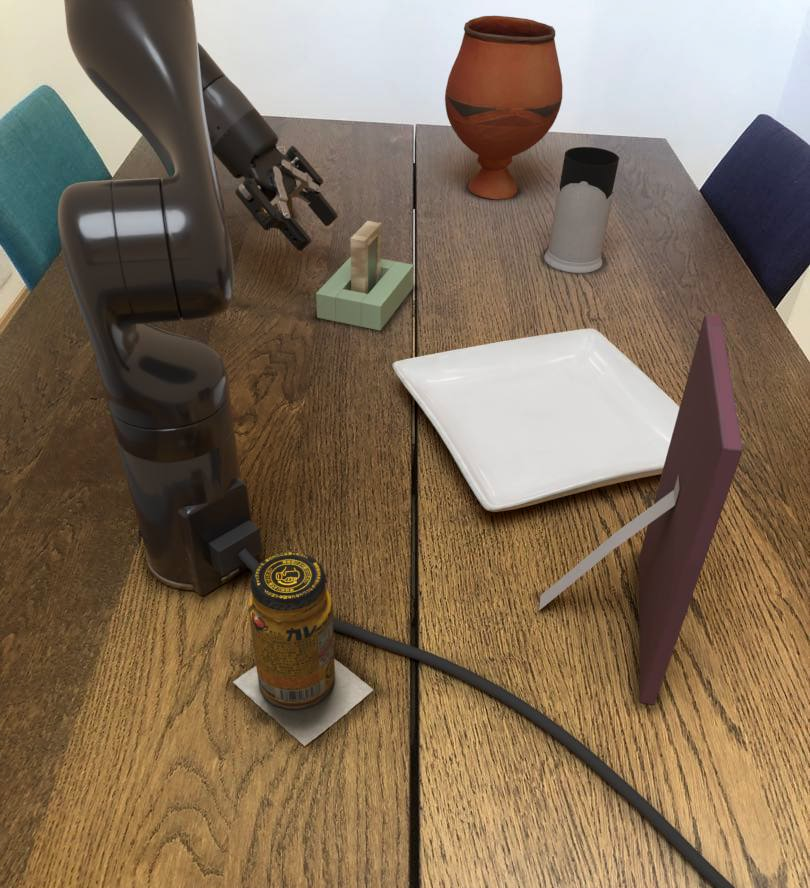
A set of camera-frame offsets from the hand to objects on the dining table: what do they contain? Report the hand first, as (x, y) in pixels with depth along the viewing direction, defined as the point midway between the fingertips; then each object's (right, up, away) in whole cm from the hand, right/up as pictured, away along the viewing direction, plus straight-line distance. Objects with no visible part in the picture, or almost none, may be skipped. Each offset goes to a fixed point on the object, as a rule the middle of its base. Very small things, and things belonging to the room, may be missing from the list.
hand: (319, 233), depth 107 cm
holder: (+6, -8, +4) cm, 11 cm away
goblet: (+27, +21, +36) cm, 49 cm away
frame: (+6, -8, +4) cm, 11 cm away
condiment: (+3, -52, -42) cm, 67 cm away
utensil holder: (-10, +12, +24) cm, 29 cm away
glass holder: (+37, +4, +18) cm, 42 cm away
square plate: (+27, -28, -16) cm, 42 cm away
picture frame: (+28, -47, -36) cm, 66 cm away
